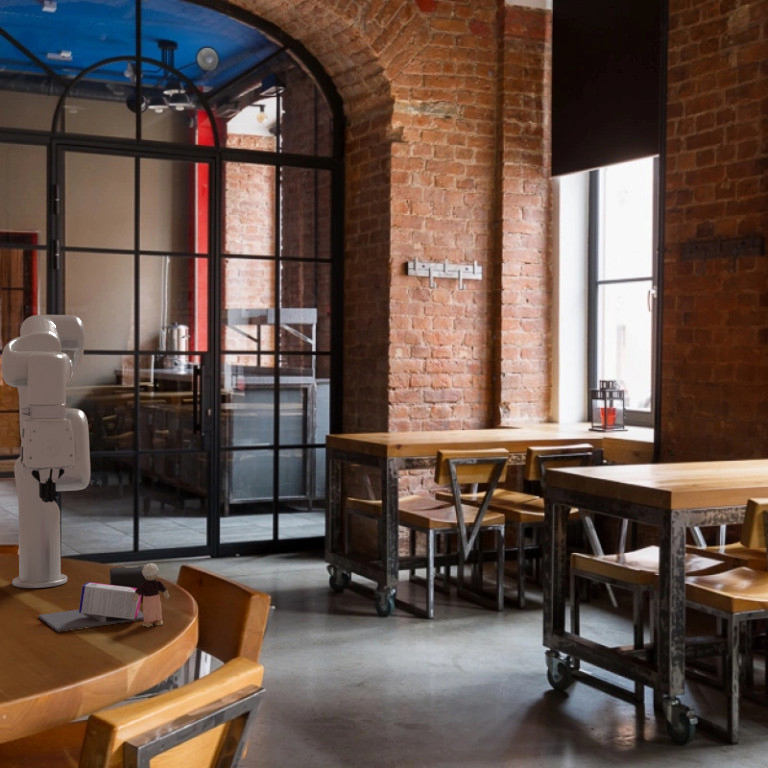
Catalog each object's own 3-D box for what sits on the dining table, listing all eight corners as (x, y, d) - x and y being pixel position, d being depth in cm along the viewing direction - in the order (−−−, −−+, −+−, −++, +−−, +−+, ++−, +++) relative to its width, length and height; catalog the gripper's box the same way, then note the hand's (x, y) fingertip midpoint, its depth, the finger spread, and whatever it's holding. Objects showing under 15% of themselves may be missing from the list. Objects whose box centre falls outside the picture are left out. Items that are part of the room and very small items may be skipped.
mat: (38, 617, 223) (38, 609, 223) (126, 605, 233) (126, 597, 233) (58, 632, 211) (58, 623, 211) (149, 619, 221) (149, 610, 221)
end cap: (110, 601, 238) (110, 571, 238) (109, 594, 245) (108, 565, 244) (156, 598, 241) (155, 568, 241) (153, 591, 248) (153, 562, 247)
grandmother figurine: (161, 620, 221) (161, 559, 221) (171, 623, 218) (171, 562, 218) (128, 626, 216) (128, 564, 215) (139, 630, 213) (138, 567, 212)
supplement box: (78, 614, 216) (134, 620, 217) (81, 584, 216) (138, 591, 217) (84, 609, 222) (139, 615, 222) (88, 581, 222) (143, 587, 223)
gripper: (14, 415, 211) (15, 507, 212) (88, 413, 220) (88, 501, 221) (5, 413, 218) (5, 501, 219) (77, 410, 226) (77, 496, 227)
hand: (47, 501), depth 220 cm, fingers closed
